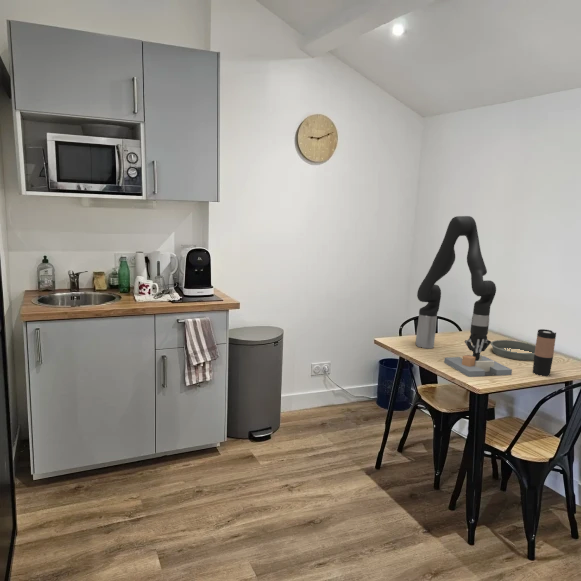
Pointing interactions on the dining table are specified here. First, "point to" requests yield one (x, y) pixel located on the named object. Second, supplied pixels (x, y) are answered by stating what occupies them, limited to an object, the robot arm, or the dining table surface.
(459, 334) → the dining table surface
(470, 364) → the block
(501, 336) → the dining table surface
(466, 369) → the tunnel deck
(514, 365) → the dining table surface
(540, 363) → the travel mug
